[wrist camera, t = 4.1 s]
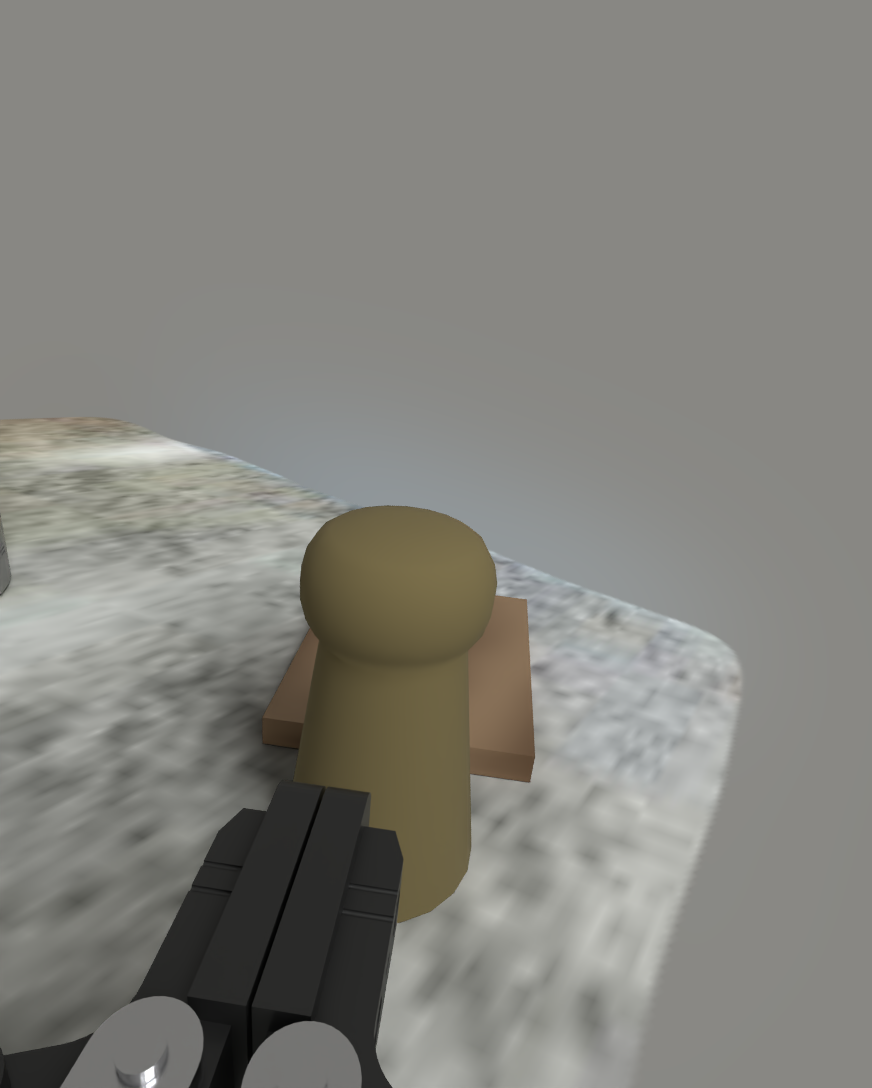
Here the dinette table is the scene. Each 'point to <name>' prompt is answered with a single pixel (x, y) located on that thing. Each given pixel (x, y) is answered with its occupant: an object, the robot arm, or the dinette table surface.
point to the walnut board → (493, 696)
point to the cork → (398, 680)
